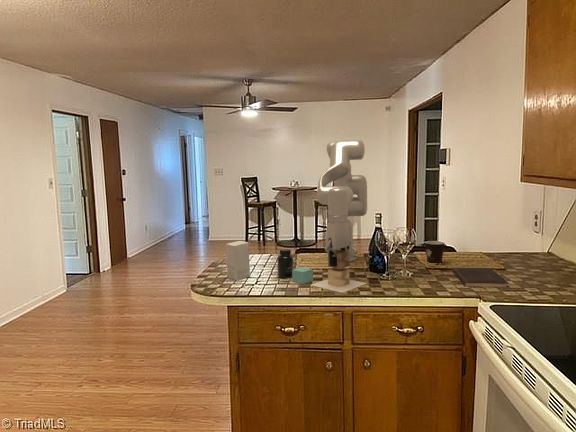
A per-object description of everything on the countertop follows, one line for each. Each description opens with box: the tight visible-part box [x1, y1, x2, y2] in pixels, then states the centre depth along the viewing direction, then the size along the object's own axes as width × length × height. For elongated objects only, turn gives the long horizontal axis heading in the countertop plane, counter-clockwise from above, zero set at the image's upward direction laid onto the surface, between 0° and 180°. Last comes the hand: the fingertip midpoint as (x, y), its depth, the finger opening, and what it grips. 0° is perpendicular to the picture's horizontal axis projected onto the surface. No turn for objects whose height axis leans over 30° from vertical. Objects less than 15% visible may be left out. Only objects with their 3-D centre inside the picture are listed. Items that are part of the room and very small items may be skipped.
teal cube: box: [291, 266, 314, 285], centre depth 180 cm, size 6×6×6 cm
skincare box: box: [225, 240, 251, 281], centre depth 191 cm, size 8×7×16 cm
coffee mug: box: [422, 240, 445, 264], centre depth 209 cm, size 12×9×10 cm
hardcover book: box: [451, 267, 510, 288], centre depth 180 cm, size 16×23×2 cm
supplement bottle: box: [277, 248, 294, 279], centre depth 190 cm, size 7×7×12 cm
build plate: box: [310, 278, 368, 294], centre depth 174 cm, size 16×16×1 cm
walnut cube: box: [327, 249, 350, 269], centre depth 173 cm, size 6×6×6 cm
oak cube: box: [327, 267, 350, 287], centre depth 174 cm, size 6×6×6 cm
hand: (338, 264), depth 173 cm, fingers closed on walnut cube, 6 cm apart
